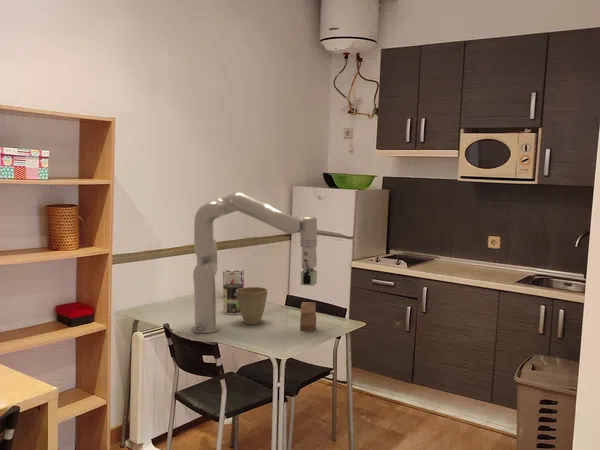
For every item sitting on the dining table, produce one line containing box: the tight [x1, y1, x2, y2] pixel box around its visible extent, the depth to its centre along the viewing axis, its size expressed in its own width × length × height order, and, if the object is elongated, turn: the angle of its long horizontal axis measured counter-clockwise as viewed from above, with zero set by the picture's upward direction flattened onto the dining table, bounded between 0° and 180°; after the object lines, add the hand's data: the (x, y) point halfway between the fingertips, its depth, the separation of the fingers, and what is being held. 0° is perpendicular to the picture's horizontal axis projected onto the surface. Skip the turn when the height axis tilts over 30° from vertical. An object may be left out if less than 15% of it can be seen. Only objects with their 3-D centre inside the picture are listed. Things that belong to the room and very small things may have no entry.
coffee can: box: [222, 284, 243, 316], centre depth 304 cm, size 10×10×14 cm
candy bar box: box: [222, 268, 245, 300], centre depth 336 cm, size 11×5×16 cm, turn 81°
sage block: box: [300, 269, 318, 286], centre depth 271 cm, size 6×6×6 cm
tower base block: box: [299, 315, 317, 333], centre depth 273 cm, size 6×6×6 cm
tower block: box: [300, 301, 316, 319], centre depth 272 cm, size 6×6×6 cm
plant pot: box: [236, 286, 268, 325], centre depth 284 cm, size 15×15×16 cm
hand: (308, 282), depth 271 cm, fingers closed on sage block, 6 cm apart
